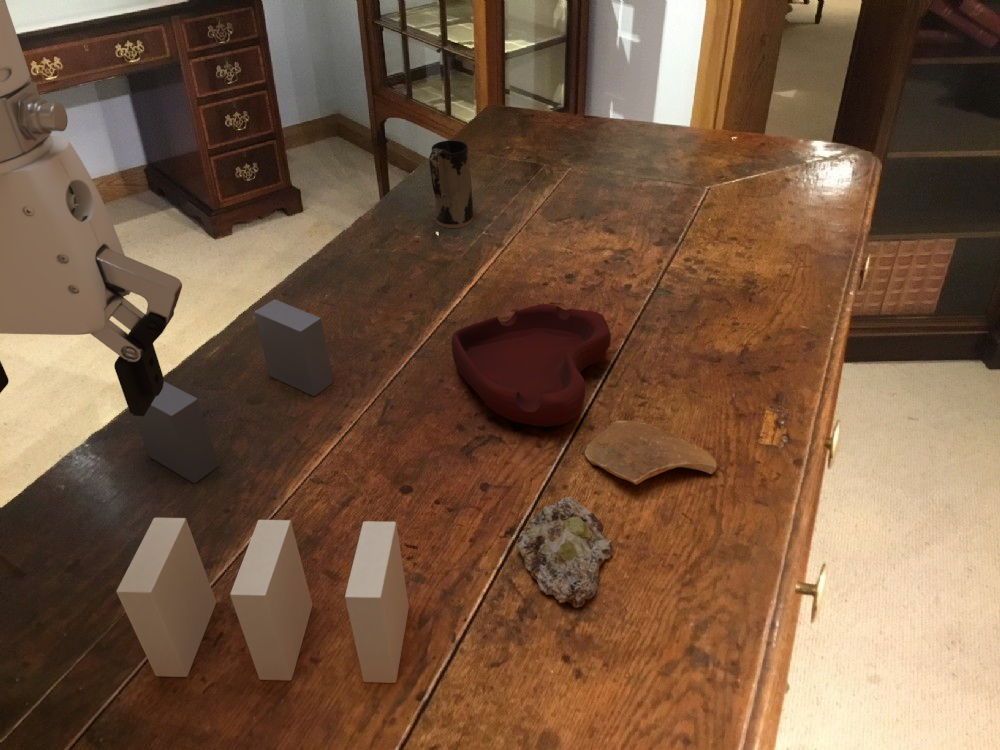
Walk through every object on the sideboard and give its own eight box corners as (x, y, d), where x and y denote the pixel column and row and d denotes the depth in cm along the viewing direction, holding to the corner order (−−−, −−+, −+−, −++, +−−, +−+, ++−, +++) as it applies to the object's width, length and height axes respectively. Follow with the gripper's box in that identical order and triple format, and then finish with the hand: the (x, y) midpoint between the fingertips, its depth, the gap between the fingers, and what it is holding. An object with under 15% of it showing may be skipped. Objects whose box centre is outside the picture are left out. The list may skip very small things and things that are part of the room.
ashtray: (482, 325, 102) (480, 289, 99) (616, 349, 97) (618, 312, 94) (421, 416, 89) (417, 378, 86) (573, 448, 84) (574, 409, 81)
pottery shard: (721, 470, 81) (725, 450, 79) (656, 517, 76) (658, 497, 75) (639, 417, 87) (641, 398, 86) (574, 458, 83) (575, 438, 81)
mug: (446, 208, 128) (440, 130, 120) (479, 213, 126) (475, 135, 119) (422, 231, 122) (414, 151, 115) (457, 237, 120) (451, 156, 113)
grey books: (149, 457, 85) (123, 390, 80) (288, 362, 97) (274, 299, 92) (194, 484, 82) (171, 415, 76) (333, 382, 94) (321, 317, 89)
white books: (155, 676, 65) (115, 591, 59) (187, 601, 70) (153, 517, 64) (396, 683, 64) (380, 597, 58) (409, 606, 69) (396, 521, 63)
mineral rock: (507, 499, 75) (595, 476, 74) (521, 529, 78) (606, 508, 77) (516, 600, 67) (615, 576, 66) (532, 630, 70) (627, 608, 68)
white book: (282, 604, 70) (258, 519, 64) (312, 605, 70) (290, 519, 64) (259, 680, 64) (229, 594, 58) (291, 680, 64) (265, 595, 58)
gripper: (162, 101, 44) (228, 366, 54) (-161, 97, 45) (-35, 360, 55) (101, 159, 38) (188, 444, 48) (-270, 154, 39) (-107, 437, 49)
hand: (69, 399), depth 52 cm, fingers open, 9 cm apart
